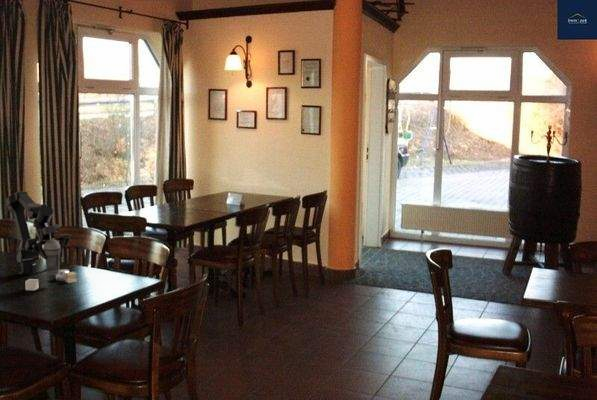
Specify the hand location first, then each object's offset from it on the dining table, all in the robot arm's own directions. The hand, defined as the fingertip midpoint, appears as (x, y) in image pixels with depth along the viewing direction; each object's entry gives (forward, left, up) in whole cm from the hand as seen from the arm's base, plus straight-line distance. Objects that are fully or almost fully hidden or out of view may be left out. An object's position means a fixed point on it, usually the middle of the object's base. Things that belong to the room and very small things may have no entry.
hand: (53, 257), depth 285 cm
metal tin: (-6, +12, -13) cm, 19 cm away
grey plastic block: (-8, -6, -13) cm, 16 cm away
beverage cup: (-1, +1, -8) cm, 8 cm away
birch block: (+1, +10, -13) cm, 17 cm away
